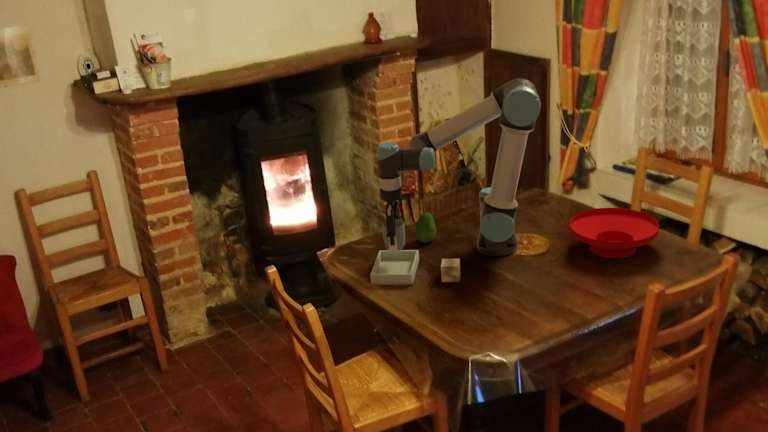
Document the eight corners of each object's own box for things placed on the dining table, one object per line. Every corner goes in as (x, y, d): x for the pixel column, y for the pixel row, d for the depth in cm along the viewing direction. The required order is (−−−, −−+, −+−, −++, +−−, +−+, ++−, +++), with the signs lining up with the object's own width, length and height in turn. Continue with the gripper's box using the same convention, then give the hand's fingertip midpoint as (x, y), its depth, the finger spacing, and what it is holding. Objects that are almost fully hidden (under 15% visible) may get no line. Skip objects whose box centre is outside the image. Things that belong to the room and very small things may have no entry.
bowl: (562, 263, 285) (562, 237, 281) (577, 228, 311) (577, 204, 307) (653, 271, 274) (655, 244, 270) (661, 235, 300) (662, 209, 296)
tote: (419, 259, 298) (418, 250, 296) (412, 284, 280) (411, 274, 279) (380, 260, 300) (379, 250, 299) (371, 285, 283) (370, 274, 281)
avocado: (441, 241, 311) (439, 212, 306) (424, 248, 307) (422, 218, 302) (428, 235, 317) (426, 206, 312) (411, 241, 313) (409, 212, 309)
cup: (404, 253, 287) (402, 227, 283) (382, 253, 288) (380, 227, 285) (408, 244, 294) (406, 218, 290) (386, 244, 295) (384, 218, 292)
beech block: (460, 274, 285) (459, 258, 283) (459, 282, 279) (458, 266, 277) (443, 274, 286) (442, 258, 284) (441, 282, 280) (440, 266, 278)
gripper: (384, 177, 292) (389, 235, 301) (374, 198, 273) (380, 260, 282) (405, 176, 291) (409, 235, 300) (396, 198, 272) (401, 260, 281)
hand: (395, 247), depth 291 cm, fingers closed on cup, 8 cm apart
